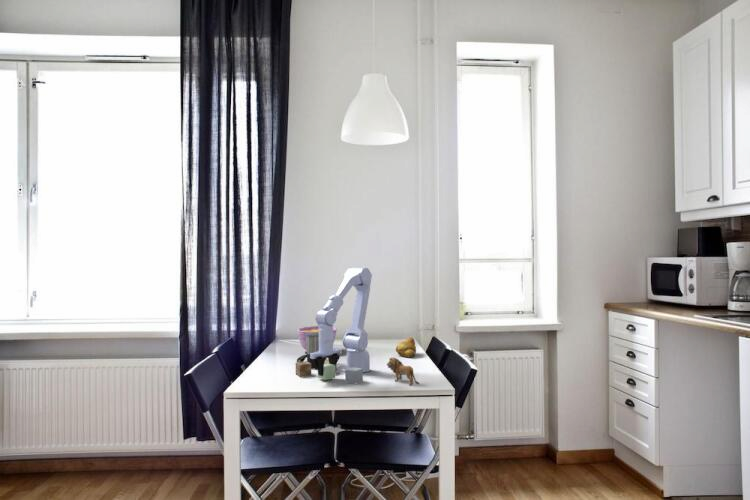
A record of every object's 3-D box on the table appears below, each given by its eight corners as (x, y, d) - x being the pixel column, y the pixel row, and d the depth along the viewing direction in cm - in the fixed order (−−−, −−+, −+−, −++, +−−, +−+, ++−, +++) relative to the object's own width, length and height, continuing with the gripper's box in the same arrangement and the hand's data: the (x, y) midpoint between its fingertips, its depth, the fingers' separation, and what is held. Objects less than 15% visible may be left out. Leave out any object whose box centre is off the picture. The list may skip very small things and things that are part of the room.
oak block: (328, 370, 223) (328, 359, 223) (336, 372, 220) (336, 360, 220) (320, 373, 219) (320, 361, 219) (328, 374, 216) (328, 362, 216)
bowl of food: (292, 350, 269) (292, 327, 269) (329, 346, 277) (329, 325, 277) (304, 357, 251) (304, 333, 251) (342, 353, 259) (342, 330, 259)
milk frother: (323, 369, 225) (323, 335, 225) (289, 368, 228) (288, 334, 228) (332, 362, 239) (332, 330, 239) (300, 361, 242) (299, 329, 242)
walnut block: (307, 373, 219) (306, 361, 219) (311, 375, 215) (311, 363, 215) (295, 374, 217) (295, 362, 217) (299, 377, 212) (299, 365, 212)
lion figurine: (384, 380, 206) (384, 357, 206) (393, 377, 210) (393, 355, 210) (415, 386, 196) (415, 362, 196) (423, 383, 200) (423, 360, 200)
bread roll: (418, 358, 247) (418, 341, 247) (397, 358, 246) (397, 341, 246) (414, 352, 259) (414, 336, 259) (394, 353, 259) (394, 337, 259)
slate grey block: (351, 379, 208) (351, 367, 208) (362, 381, 206) (362, 368, 205) (345, 382, 203) (345, 369, 203) (356, 384, 201) (356, 371, 201)
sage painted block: (327, 375, 211) (327, 363, 211) (335, 377, 208) (335, 365, 208) (317, 377, 208) (317, 365, 208) (325, 380, 204) (325, 367, 204)
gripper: (334, 336, 215) (334, 369, 216) (305, 341, 206) (305, 375, 206) (345, 338, 210) (345, 372, 210) (315, 343, 200) (316, 378, 201)
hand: (326, 374), depth 208 cm, fingers closed on sage painted block, 5 cm apart
